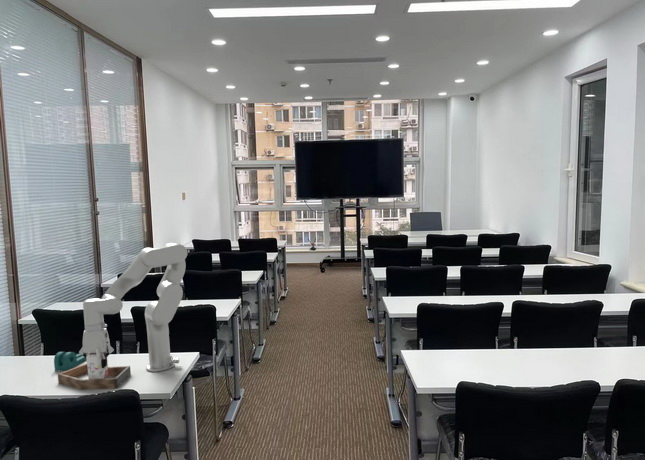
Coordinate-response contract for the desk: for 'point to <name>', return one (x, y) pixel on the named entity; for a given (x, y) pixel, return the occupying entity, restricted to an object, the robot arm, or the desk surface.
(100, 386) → the brown angled open frame
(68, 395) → the desk surface
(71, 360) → the bracket
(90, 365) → the ink cartridge box
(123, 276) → the robot arm
